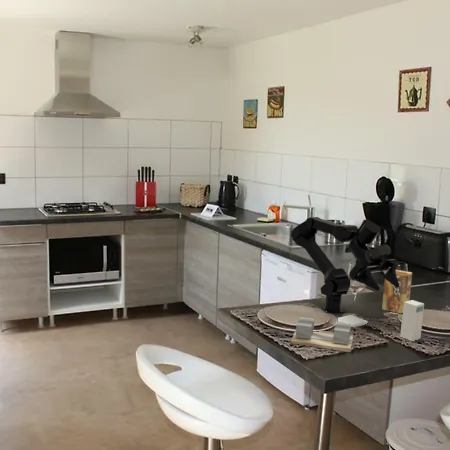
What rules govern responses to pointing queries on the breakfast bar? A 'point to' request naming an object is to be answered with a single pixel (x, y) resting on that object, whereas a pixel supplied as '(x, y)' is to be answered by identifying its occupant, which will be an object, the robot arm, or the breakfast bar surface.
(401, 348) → the breakfast bar surface
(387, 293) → the candy box
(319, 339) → the rail board
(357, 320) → the external hard drive
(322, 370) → the breakfast bar surface
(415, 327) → the module block
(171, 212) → the breakfast bar surface
